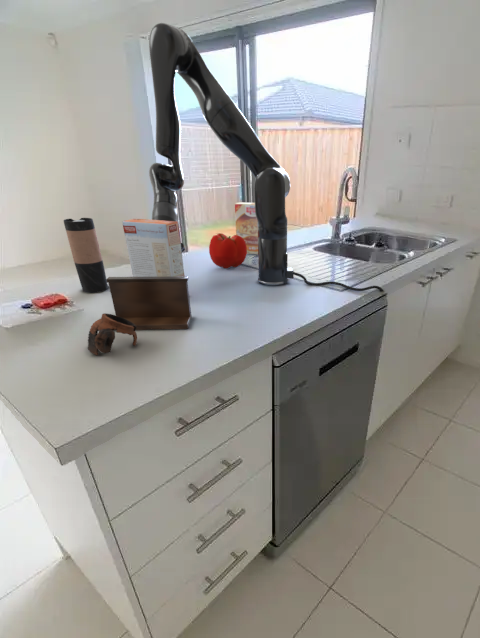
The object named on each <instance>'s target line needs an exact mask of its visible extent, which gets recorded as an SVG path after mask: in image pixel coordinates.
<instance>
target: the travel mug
mask: <svg viewBox="0 0 480 638" xmlns="http://www.w3.org/2000/svg"><path fill="white" fill-rule="evenodd" d="M63 225H64V228H65V233H66V236H67V240H68V245H69V248H70V253H71V256H72V259H73V262H74V266H75V269H76V273H77V276H78V278H79V282H80V285H81V288H82V292H84V293H87V294H88V293H89V294H94V293H102V292H105V291H106V290H108V289H109V284H108V283H107V280H106V279H107V275H106V271H105V265H104V261H103V256H102V252H101V248H100V243H99V240H98V235H97V230H96V227H95V222H94V219H93V218H91V217H81V218H80V219H72V218H65V219H63Z"/></svg>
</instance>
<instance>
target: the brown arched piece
mask: <svg viewBox="0 0 480 638" xmlns="http://www.w3.org/2000/svg"><path fill="white" fill-rule="evenodd" d="M136 328H137V326H136V325H135V324H134V323H132V322H130V321H128V320H126V319H124V318H122V317H119V316H116V314H113V313H102V314H101V318H99V319H97V320H95V321H94V322H93V323H92V325H91V326H90V328H89V331H88V334H87V335H88V337H87V338H88V339H87V350H88V351H89V352H90V353H91V354H92V355H95V356H99V352H101V353H102V354H108V353H111V352H112V347H113V344H114V341H115V339H116V333H119V334H122V335H129V336H132V339H133V341H132V345H133V346H134V347H135V346H137V344H138V343H137V342H138V334H137V332H136V331H137V330H136Z"/></svg>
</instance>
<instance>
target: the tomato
mask: <svg viewBox="0 0 480 638" xmlns="http://www.w3.org/2000/svg"><path fill="white" fill-rule="evenodd" d="M208 253H209V257H210V260H211V261H212V263H213V264H214V265H216V266H217V267H219V268H223V269H227V270H228V269H230V268H237V267H239V266H241V265H243V263H244V262H245V260H246V259H247V255H248V254H247V246H246V243H245V241H244V239H243V238H242V237H241V236H237V235H236V234H234V235H232V236H231V235H229V236H227V235H226V234H225V233H222V232H221V233H218V232H217V233H215V234H214V235H213V236H212V237H211V239H210V241H209V246H208Z"/></svg>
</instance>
